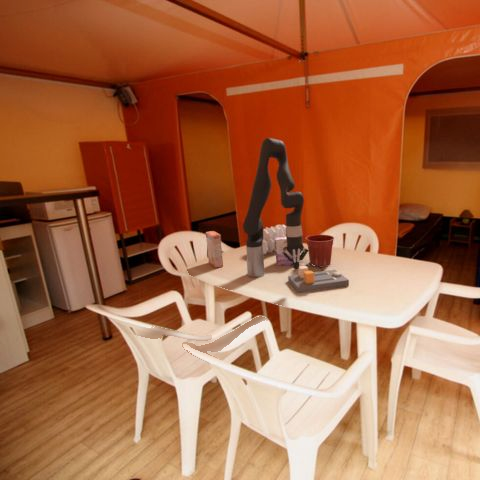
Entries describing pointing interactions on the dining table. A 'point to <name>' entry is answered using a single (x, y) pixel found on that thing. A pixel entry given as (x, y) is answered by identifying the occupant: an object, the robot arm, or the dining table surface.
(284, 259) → the candy box
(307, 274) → the orange slider
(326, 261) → the flower pot
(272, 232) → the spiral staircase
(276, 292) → the dining table surface
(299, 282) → the panel
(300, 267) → the ivory slider
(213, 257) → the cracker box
